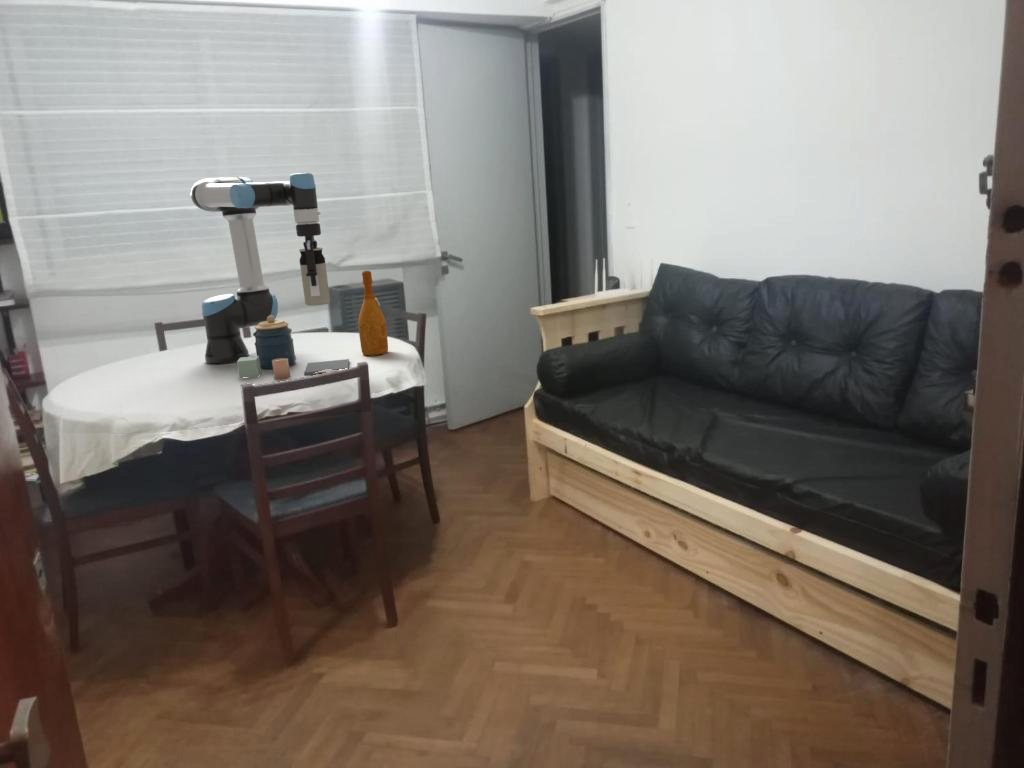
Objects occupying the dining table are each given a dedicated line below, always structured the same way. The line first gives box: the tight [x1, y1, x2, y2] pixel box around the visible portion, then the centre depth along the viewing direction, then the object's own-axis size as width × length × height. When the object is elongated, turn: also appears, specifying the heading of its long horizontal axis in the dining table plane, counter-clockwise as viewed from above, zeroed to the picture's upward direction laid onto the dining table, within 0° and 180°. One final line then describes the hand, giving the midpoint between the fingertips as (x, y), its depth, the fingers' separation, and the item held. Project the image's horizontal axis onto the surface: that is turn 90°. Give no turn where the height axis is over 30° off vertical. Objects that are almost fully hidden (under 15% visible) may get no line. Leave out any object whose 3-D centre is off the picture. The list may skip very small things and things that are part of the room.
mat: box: [303, 358, 350, 376], centre depth 244 cm, size 14×14×1 cm
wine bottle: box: [357, 270, 389, 356], centre depth 259 cm, size 10×10×30 cm
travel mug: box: [298, 246, 331, 307], centre depth 236 cm, size 8×8×18 cm
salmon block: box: [272, 358, 291, 381], centre depth 235 cm, size 5×5×6 cm
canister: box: [252, 315, 297, 370], centre depth 252 cm, size 13×13×18 cm
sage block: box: [236, 355, 262, 379], centre depth 240 cm, size 6×6×6 cm
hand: (316, 294), depth 238 cm, fingers closed on travel mug, 8 cm apart
